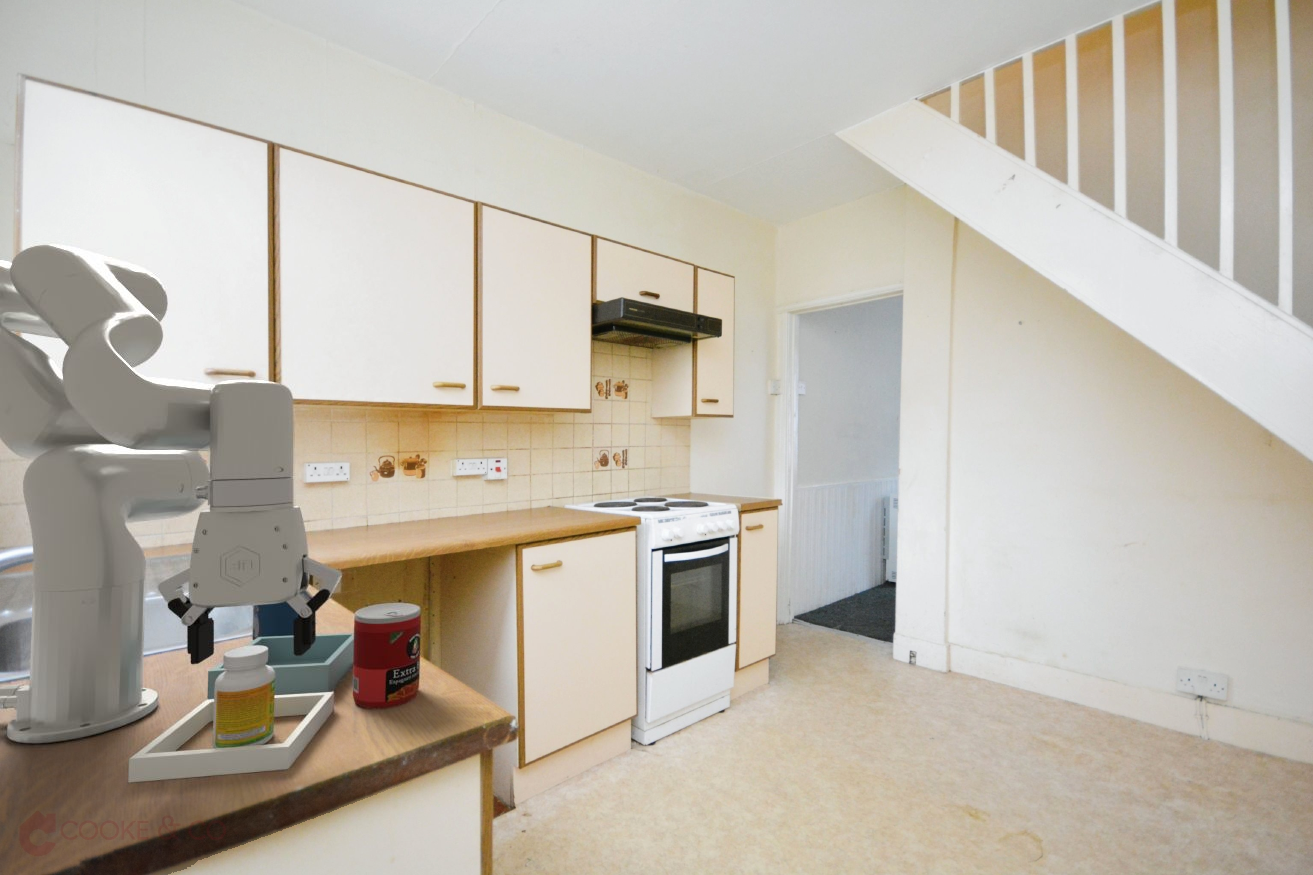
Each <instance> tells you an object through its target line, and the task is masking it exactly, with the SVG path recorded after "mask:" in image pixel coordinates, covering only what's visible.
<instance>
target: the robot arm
mask: <svg viewBox="0 0 1313 875" xmlns="http://www.w3.org/2000/svg"><path fill="white" fill-rule="evenodd" d="M168 305H169V304H168V296H167V291H166V290H165V287H164V285H163V284H162V282H161V281H160V279H159V278H157V277H156V276H155V275H154V274H153V273H152V272H150V271H148V270H146V269H145V268H143V267H140V266H138V265H136V264H131V263H129V262H125V261H121V260H118V259H114V258H112V257H107V256H104V255H101V254H98V253H93V252H90V251H86V250H83V249H80V248H76V247H71V246H68V245H67V246H66V245H60V244H41V245H40V244H39V245H34V246H31V247H29V248H25V249H23V250H21V251H20V252H19V253H17V254H16V255H15V256H14V258H13V259H12V261H6V260H0V440H1V442H2V443H3V444H4V445H5V446H6V447H7V448H8V449H9V450H10V451H11V452H13V453H14V454H15V455H16V456H19V457H21V458H24V459H27V460H33V461H32V462H31V463H30V464H29V466H28V467H27V469H26V470H25V473H24V475H23V480H22V490H23V491H22V492H23V493H22V494H23V498H24V502H25V507H26V511H27V515H28V520H29V525H30V529H31V530H30V531H31V539H32V553H33V554H32V555H33V557H32V558H33V562H32V564H33V565H32V566H33V569H32V570H33V572H32V575H33V576H32V607H31V608H32V609H31V610H32V612H31V633H30V634H31V637H30V660H29V661H30V662H29V664H30V666H29V684H20V683H19V684H5V685H1V686H0V710H5V709H13V708H14V710H16V711H15V713H16V715H15V717H14V718H12V719H11V721H10V722H8V724H7V727H6V730H7V732H6V737H7V738H8V739H10V740H11V741H13V742H17V743H22V744H45V743H57V742H64V741H69V740H70V741H71V740H75V739H82V738H85V737H89V736H95V735H97V734H101V733H105V732H109V731H112V730H114V729H117V728H120V727H123V726H126V725H128V724H130V723H132V722H136V721H137V720H140V719H142V718H143V717H145V716H147V715H148V714H150V713H151V712H153V711H154V710H155V709H156V708H157V706H158V705H159V698H160V696H159V693H158V692H157V691H156V690H154V689H151V688H149V687H148V688H147V687H143V680H144V679H143V677H144V676H143V675H144V674H143V673H144V649H145V648H144V645H145V644H144V643H145V619H146V618H145V610H146V585H147V584H146V583H147V582H146V580H147V578H146V577H147V576H146V575H147V574H146V573H147V567H146V566H147V565H146V564H147V563H146V557H145V554H144V551H143V549H142V547H141V545H140V544H139V543H138V541H137V540H136V539H135V537H134V536H133V535H132V533H131V531H129V529H128V527H127V524H132V523H138V522H140V523H141V522H148V521H149V522H150V521H157V520H166V519H173V518H180V517H185V516H187V515H189V514H192V513H194V512H196V511H197V510H199V509H200V508H202V506H203V505H204V504H205V503H206V502H207V506H209V510H202V511H199V514H198V518H197V523H196V528H195V531H194V537H193V542H192V545H191V546H192V548H191V555H190V561H189V562H190V563H189V568H187V569H184V570H183V571H181V572H179V573H177V574H176V575H175V574H174V575H173V576H171V577H169V578H167V579H165V580H163V581H161V582H160V583H159V584H158V585H157V590H158V591H159V593H160V594H161V596H162V598H163V599H164V601H165V602H166V603H167V608H168V610H170V611H171V612H172V614H174V615H176V617H178V618H179V619H180V622H181V624H182V626H187V627H186V628H187V629H186V630H187V633H186V635H187V636H186V637H187V638H186V639H187V641H186V642H187V643H186V650H187V653H188V655H190V664H191V665H198V664H200V663H201V662H203V661H205V660H207V659H208V658H210V657H211V656H213V655H214V654H215V620H214V619H213V617H209V615H210V614H211V612H212V611H214V609H216V608H230V607H234V608H235V607H246V606H247V607H248V606H253V605H264V604H276V603H282V602H285V601H286V602H287V603H288V604H289V605H290V606H291V607H292V608H293V609H294V610H295V611H296V612H297V613H298V617H297V618H296V619H294V655H296V656H301V655H303V654H304V653H305V652H306V651H308V650H309V649H310V648H311V645H312V644H313V643H314V642H315V639H316V635H317V634H316V630H317V629H316V621H317V619H316V618H317V617H316V615H317V614H316V613H317V611H319V609H320V608H321V607H322V606H323V605H324V604H325V603H326V602H327V601H328V600H329V599H330V598H331V597H333V594H334V591H335V590H336V587H337V586H338V584H339V582H340V581H341V578H342V576H343V572H342V571H340V570H338V569H336V568H333V567H331V566H328V565H327V564H324V563H323V562H320V561H318V560H315V559H312V558H310V556H309V548H308V539H307V533H306V529H305V521H304V518H303V514H302V511H301V506H299V505H296V506H294V505H295V504H294V503H295V502H294V501H295V500H294V397H293V394H292V392H291V391H292V390H290V388H289V387H288V386H286V385H285V384H282V383H279V382H273V381H266V380H253V379H252V380H249V379H239V380H238V379H235V380H226V381H221V382H218V383H216V384H206V383H205V384H204V383H199V382H191V381H185V380H184V381H183V380H175V379H168V378H156V377H146V376H144V375H142V374H140V373H138V372H137V371H136V370H135V369H134V368H135V367H138V366H141V365H142V364H144V363H146V362H147V361H148V360H149V359H151V358H152V357H153V356H154V355H155V354H156V353H157V352H158V351H159V349H160V347H161V345H162V343H163V339H164V332H163V328H162V324H161V321H162V320H163V319H164V318H165V316H166V314H167V310H168ZM17 333H22V334H29V335H34V336H35V335H36V336H40V337H41V336H43V337H47V338H54V339H61V340H62V341H63V343H64V344H65V345H66V346H67V347H68V348H67V351H66V353H65V355H64V357H63V361H62V367H61V368H62V369H60V368H59V366H58V365H57V364H56V362H55V361H54V360H53V359H52V358H51V356H49V355H48V354H47V353H46V352H45V351H43V350H42V349H41V348H40V347H38V346H36V344H33V343H32V342H30V341H29V340H26V339H25V338H23V337H22V336H20V335H18V334H17ZM200 452H209V467H208V465H207V463H206V461H205V460H204V458H203V456H202V455H201V453H200ZM310 576H313V577H315V578H318V579H319V580H321V581H322V584H321V586H320V588H319V590H318V592H316V593H315V594H314V595H313V594H311V593H310V592H309V590H308V588H309V583H310ZM186 584H188V596H187V595H185V594H184V593H185V592H184V590H183V588H184V586H185V585H186Z"/></svg>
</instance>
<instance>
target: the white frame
mask: <svg viewBox="0 0 1313 875" xmlns="http://www.w3.org/2000/svg"><path fill="white" fill-rule="evenodd" d="M334 706H335V691H332V692H322V693H306V694H289V695H275V697H274V718H278V717H290V716H291V717H292V716H293V717H295V716H304V715H305V717H304V718H303V719H302V721H301V722H300V723H299V724H298V725H297V727H296V728H295V729H294V730H293V731H292V732H291V733H290V735H289V736H288V737H287V738H286V740H284V742H283V743H272V744H271V743H270V744H269V743H268V744H263V745H255V746H242V747H228V748H215V749H214V748H204V749H203V748H202V749H191V750H190V749H189V750H179V748H180V747H182V745H184V744H185V743H186V742H187V741H189V740H190V739H191V738H192V737H194V736H195V735H196V734H197V733H198V732H200V731H201V730H202V729H203V728H204V727H206V726H207V725H208V724H209V723H210V722H213V719H214V699H205V700H204V701H203V702H202V703H200V704H199V705H198V706H196V707H195V708H194V709H192V710H191V711H190V712H188V713H187V714H186V715H185V716H183V717H182V718H181V719H180V720H178V721H177V722H175V723H174V724H173V725H172V726H170V727H169V728H167V729H166V730H165V731H164V732H162V733H161V734H160V735H158V736H157V737H156V738H155V739H153V740H152V741H151V742H149V743H148V744H147V745H145V746H144V747H143V748H141V749H140V750H139V751H137V752H136V753H135V754H134V755H132V756H131V757H129V759H128V760H129V761H128V782H127V783H140V782H151V781H161V780H162V781H163V780H174V779H187V778H189V779H190V778H198V777H209V776H211V777H212V776H222V775H235V774H248V773H257V772H258V773H259V772H273V771H282V770H289V769H290V767H291V766H292V765H293V764H294V762H295V761H296V760H297V759H298V757H299V756H300V754H301V753H302V752H303V751H304V749H305V748H306V747H307V746H308V744H309V743H310V742H311V741H312V739H313V738H314V737H315V735H316V734H317V732H318V731H320V729H321V727H322V726H323V725H324V723H325V722H327V720H328V719H329V717H330V716H331V714H332V713H334V711H335V710H334V709H335V707H334Z"/></svg>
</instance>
